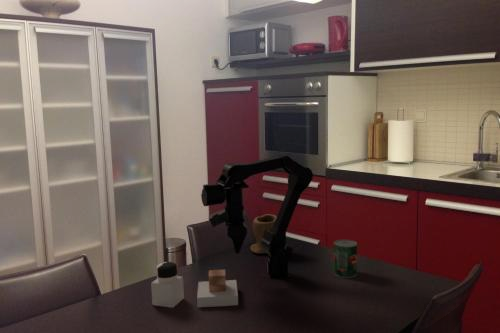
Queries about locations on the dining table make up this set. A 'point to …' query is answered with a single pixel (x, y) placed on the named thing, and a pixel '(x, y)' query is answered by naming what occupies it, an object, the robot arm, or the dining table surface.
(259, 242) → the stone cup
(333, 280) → the dining table surface
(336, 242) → the canned tomato
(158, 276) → the medicine bottle
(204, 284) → the grey base
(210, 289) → the terracotta cube
